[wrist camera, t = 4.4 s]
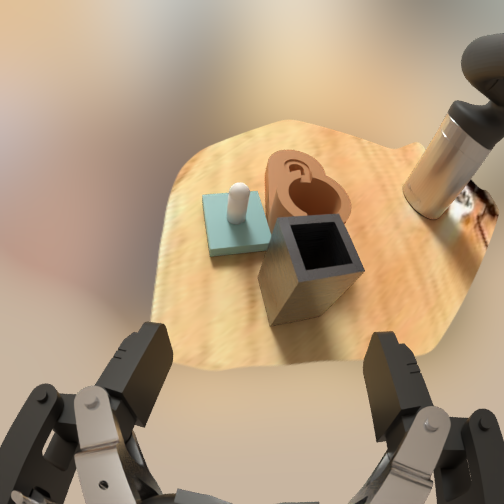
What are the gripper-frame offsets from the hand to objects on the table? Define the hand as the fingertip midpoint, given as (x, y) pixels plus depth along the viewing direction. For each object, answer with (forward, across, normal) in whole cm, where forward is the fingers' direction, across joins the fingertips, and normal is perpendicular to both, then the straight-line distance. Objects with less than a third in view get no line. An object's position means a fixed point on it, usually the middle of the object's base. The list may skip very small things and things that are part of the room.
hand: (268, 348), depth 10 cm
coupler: (+17, +1, -9) cm, 19 cm away
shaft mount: (+23, -5, -3) cm, 24 cm away
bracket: (+29, +2, -2) cm, 29 cm away
